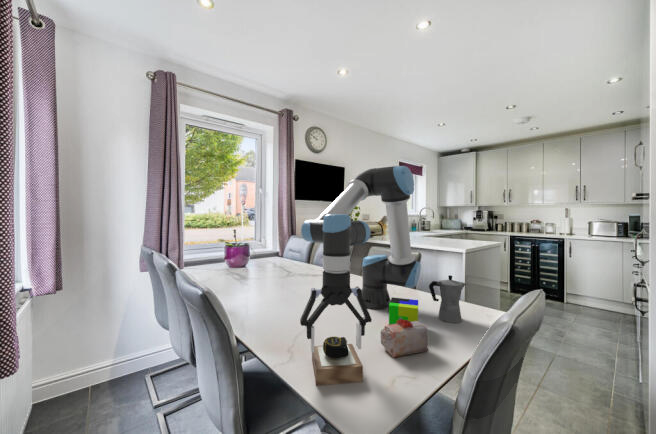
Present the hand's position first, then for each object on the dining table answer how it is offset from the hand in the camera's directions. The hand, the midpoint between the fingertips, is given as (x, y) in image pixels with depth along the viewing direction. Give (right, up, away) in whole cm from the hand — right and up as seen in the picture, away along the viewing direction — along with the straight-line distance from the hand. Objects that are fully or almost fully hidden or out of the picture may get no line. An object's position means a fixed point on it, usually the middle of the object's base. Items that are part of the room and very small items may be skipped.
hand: (335, 348), depth 74 cm
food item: (+22, -6, +11) cm, 25 cm away
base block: (0, -6, 0) cm, 6 cm away
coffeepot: (+47, -6, +37) cm, 60 cm away
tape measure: (+1, -2, 0) cm, 2 cm away
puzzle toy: (+26, -6, +27) cm, 38 cm away
